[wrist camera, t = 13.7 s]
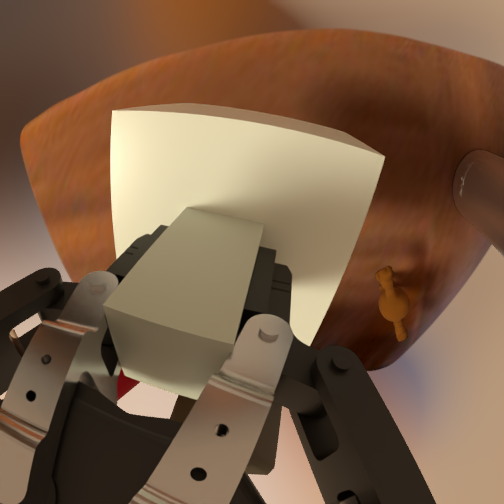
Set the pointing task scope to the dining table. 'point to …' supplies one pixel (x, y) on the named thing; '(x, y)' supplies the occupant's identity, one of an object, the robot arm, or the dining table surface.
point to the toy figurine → (392, 302)
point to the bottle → (266, 443)
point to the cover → (225, 228)
